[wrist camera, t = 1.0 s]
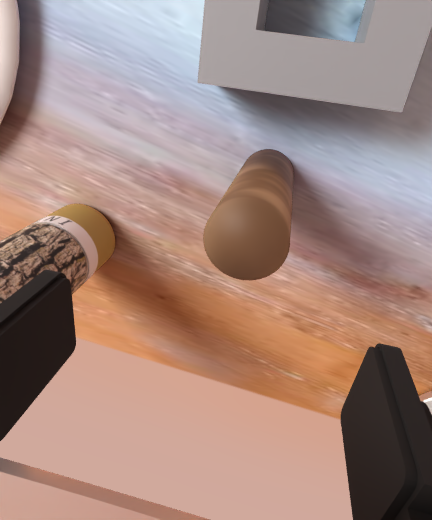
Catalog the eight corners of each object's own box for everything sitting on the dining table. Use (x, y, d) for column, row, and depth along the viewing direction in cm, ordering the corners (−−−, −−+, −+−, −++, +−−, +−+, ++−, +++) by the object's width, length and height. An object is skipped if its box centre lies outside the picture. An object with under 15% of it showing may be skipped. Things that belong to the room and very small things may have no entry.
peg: (299, 154, 29) (299, 209, 17) (287, 205, 31) (279, 288, 19) (246, 145, 29) (208, 192, 17) (238, 196, 31) (199, 270, 19)
